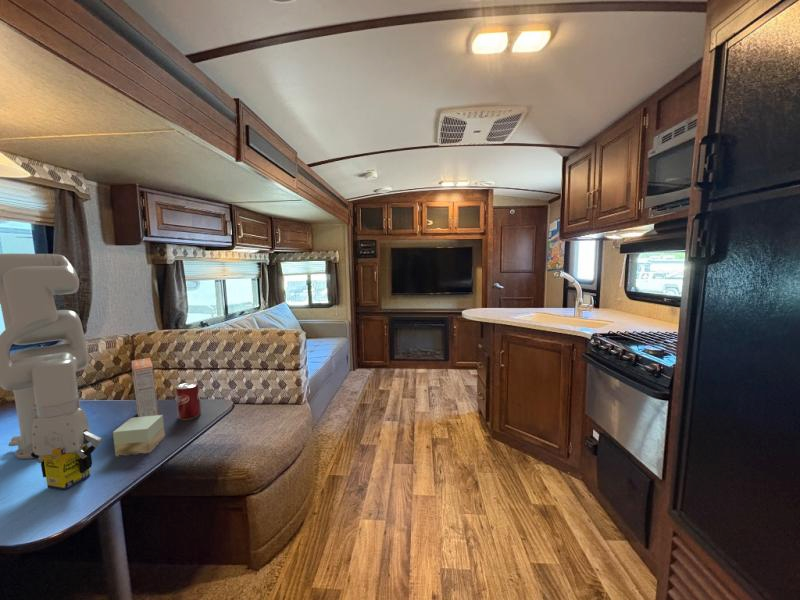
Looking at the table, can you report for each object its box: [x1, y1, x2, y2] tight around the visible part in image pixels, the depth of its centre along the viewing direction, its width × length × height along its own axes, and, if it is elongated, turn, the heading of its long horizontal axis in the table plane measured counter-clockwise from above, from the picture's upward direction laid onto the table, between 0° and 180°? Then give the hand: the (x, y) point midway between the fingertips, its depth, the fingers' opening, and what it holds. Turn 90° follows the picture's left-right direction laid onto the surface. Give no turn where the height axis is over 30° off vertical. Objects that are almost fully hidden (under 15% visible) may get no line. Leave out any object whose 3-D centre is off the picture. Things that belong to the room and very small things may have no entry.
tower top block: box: [112, 414, 165, 445], centre depth 101 cm, size 9×9×4 cm
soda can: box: [174, 381, 202, 421], centre depth 121 cm, size 7×7×12 cm
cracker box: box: [131, 357, 160, 417], centre depth 120 cm, size 14×6×21 cm, turn 41°
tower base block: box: [114, 426, 166, 457], centre depth 102 cm, size 9×9×4 cm
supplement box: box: [43, 439, 91, 491], centre depth 85 cm, size 6×6×11 cm
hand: (68, 471), depth 86 cm, fingers closed on supplement box, 7 cm apart
